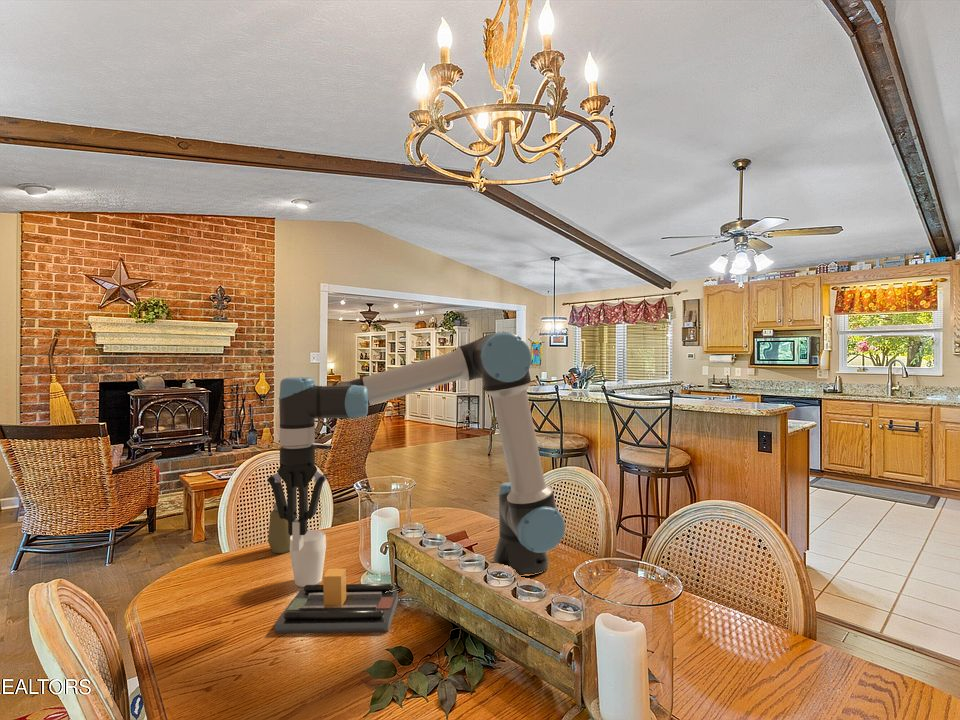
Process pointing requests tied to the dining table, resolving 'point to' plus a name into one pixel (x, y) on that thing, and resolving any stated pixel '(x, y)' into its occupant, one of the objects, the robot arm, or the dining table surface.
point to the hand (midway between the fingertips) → (297, 548)
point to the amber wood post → (334, 587)
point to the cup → (309, 558)
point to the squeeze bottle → (278, 533)
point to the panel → (340, 610)
